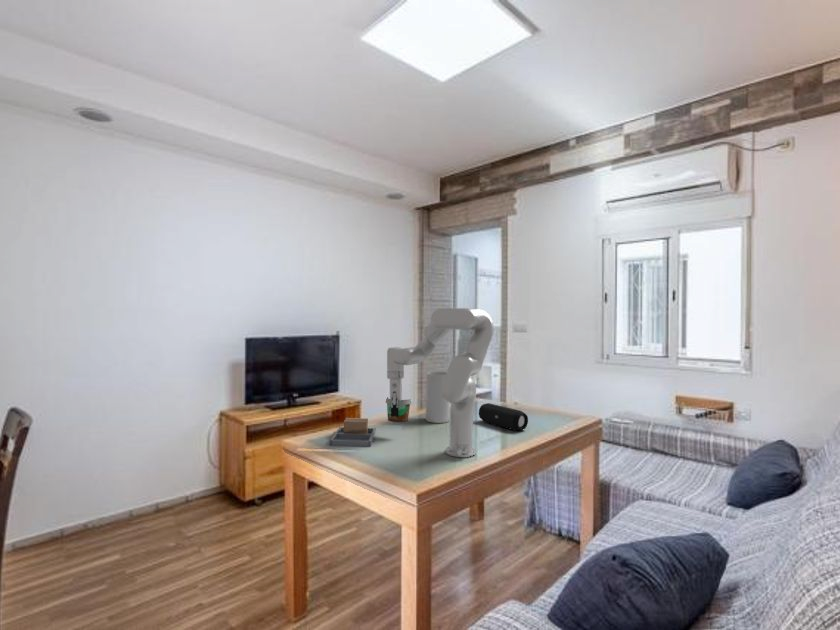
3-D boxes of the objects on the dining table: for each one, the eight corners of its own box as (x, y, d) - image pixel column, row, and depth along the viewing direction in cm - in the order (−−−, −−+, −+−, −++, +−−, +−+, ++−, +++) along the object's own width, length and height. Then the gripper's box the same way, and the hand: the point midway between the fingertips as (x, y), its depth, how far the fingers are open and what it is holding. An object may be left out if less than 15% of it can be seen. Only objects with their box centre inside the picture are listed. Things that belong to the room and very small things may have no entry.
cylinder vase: (449, 424, 233) (451, 375, 232) (425, 423, 233) (427, 374, 232) (448, 418, 245) (450, 372, 245) (425, 417, 245) (426, 371, 245)
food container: (380, 421, 202) (380, 398, 202) (386, 418, 208) (386, 397, 208) (405, 423, 197) (406, 400, 198) (410, 421, 203) (411, 399, 204)
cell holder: (370, 448, 189) (370, 441, 189) (329, 447, 189) (329, 440, 189) (375, 434, 210) (375, 428, 210) (339, 433, 210) (339, 427, 210)
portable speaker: (477, 422, 238) (477, 403, 238) (489, 419, 245) (490, 401, 244) (516, 433, 219) (517, 413, 219) (528, 430, 225) (529, 410, 225)
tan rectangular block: (365, 437, 201) (366, 421, 201) (343, 436, 201) (343, 421, 201) (367, 433, 207) (368, 418, 207) (345, 433, 207) (346, 417, 207)
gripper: (402, 377, 195) (402, 419, 195) (404, 372, 212) (404, 410, 212) (385, 377, 195) (385, 419, 195) (388, 372, 212) (388, 410, 212)
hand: (395, 414), depth 203 cm, fingers closed on food container, 6 cm apart
